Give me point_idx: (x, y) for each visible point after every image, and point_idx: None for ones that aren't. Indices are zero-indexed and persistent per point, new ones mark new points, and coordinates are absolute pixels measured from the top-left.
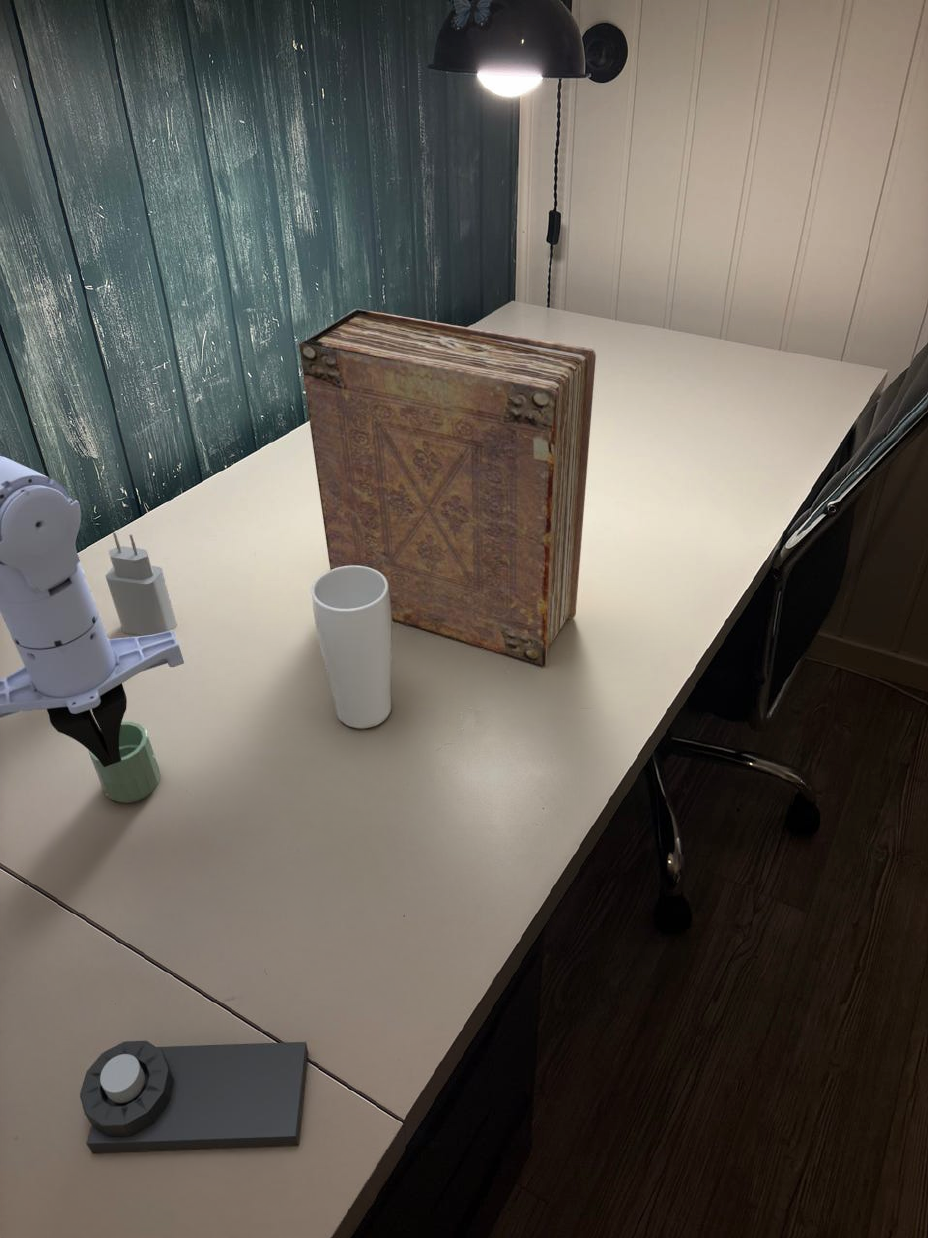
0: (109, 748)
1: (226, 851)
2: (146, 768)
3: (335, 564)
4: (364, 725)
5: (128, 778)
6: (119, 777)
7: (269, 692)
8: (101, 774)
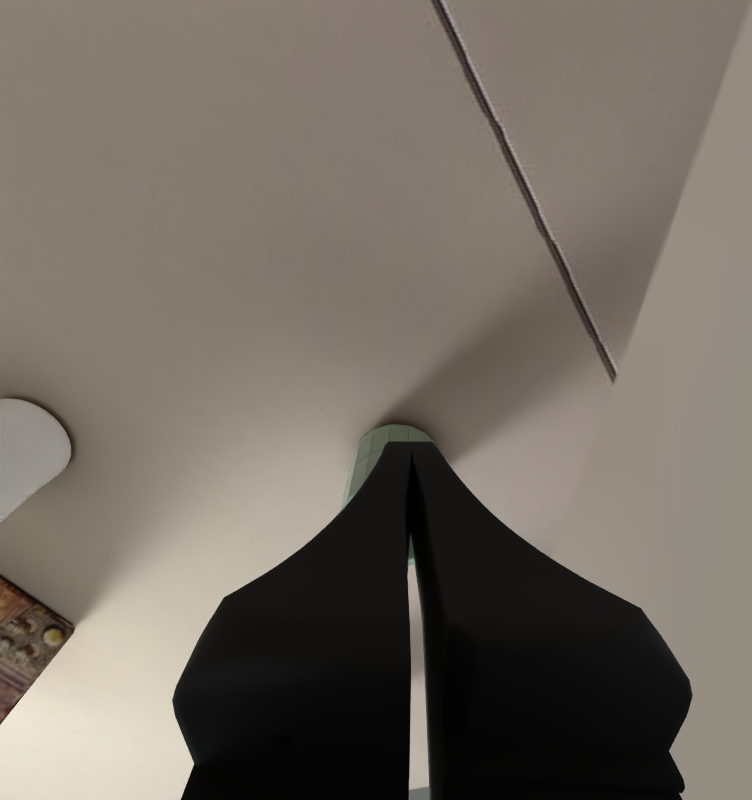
0: (401, 472)
1: (278, 252)
2: (363, 460)
3: (5, 698)
4: (17, 403)
5: None
6: None
7: (178, 528)
8: None
